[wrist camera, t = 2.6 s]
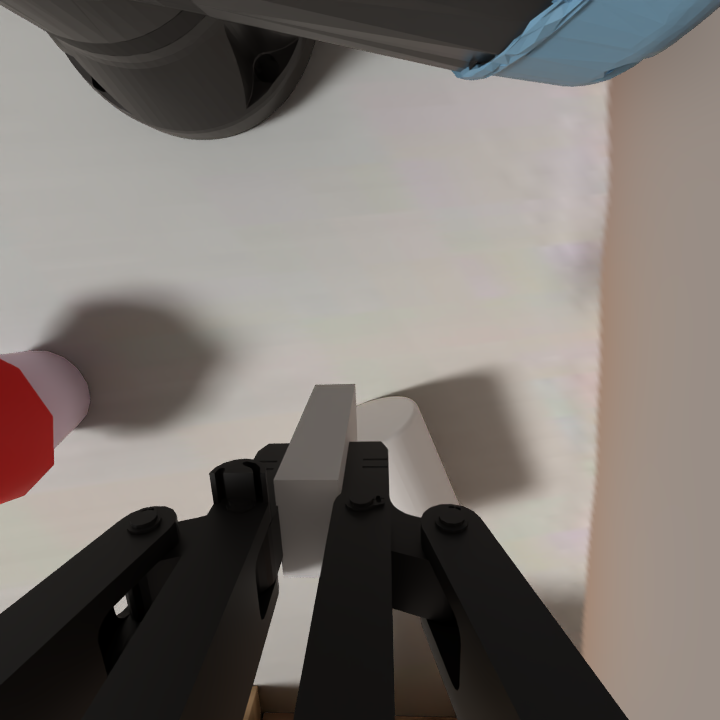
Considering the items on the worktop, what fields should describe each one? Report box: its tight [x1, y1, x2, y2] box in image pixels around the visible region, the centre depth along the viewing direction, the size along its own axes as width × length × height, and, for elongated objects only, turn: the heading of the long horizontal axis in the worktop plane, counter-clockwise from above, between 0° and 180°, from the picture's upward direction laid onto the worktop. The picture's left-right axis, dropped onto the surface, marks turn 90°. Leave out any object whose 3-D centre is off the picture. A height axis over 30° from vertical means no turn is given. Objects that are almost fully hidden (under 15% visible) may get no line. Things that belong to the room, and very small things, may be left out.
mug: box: [356, 396, 460, 517], centre depth 30 cm, size 12×10×8 cm
